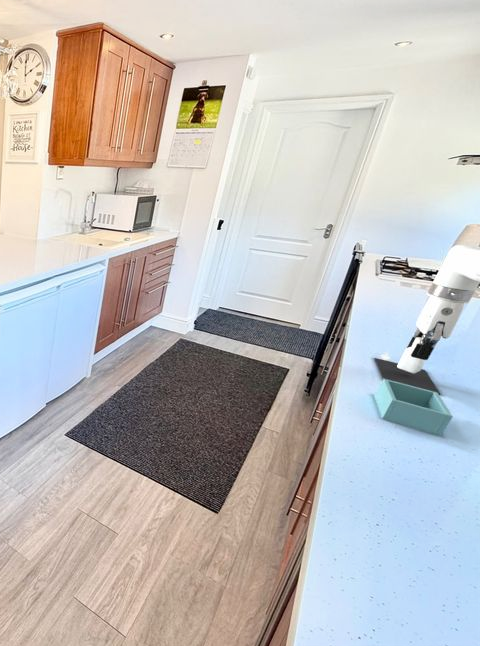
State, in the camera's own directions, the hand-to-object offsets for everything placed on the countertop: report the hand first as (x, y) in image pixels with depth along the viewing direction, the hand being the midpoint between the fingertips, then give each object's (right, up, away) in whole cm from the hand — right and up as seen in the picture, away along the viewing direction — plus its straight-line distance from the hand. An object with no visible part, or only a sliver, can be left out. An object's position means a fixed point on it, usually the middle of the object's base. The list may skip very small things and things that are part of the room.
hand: (416, 354), depth 112 cm
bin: (-21, -13, -16) cm, 29 cm away
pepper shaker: (0, -5, +2) cm, 5 cm away
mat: (0, -6, +3) cm, 7 cm away
